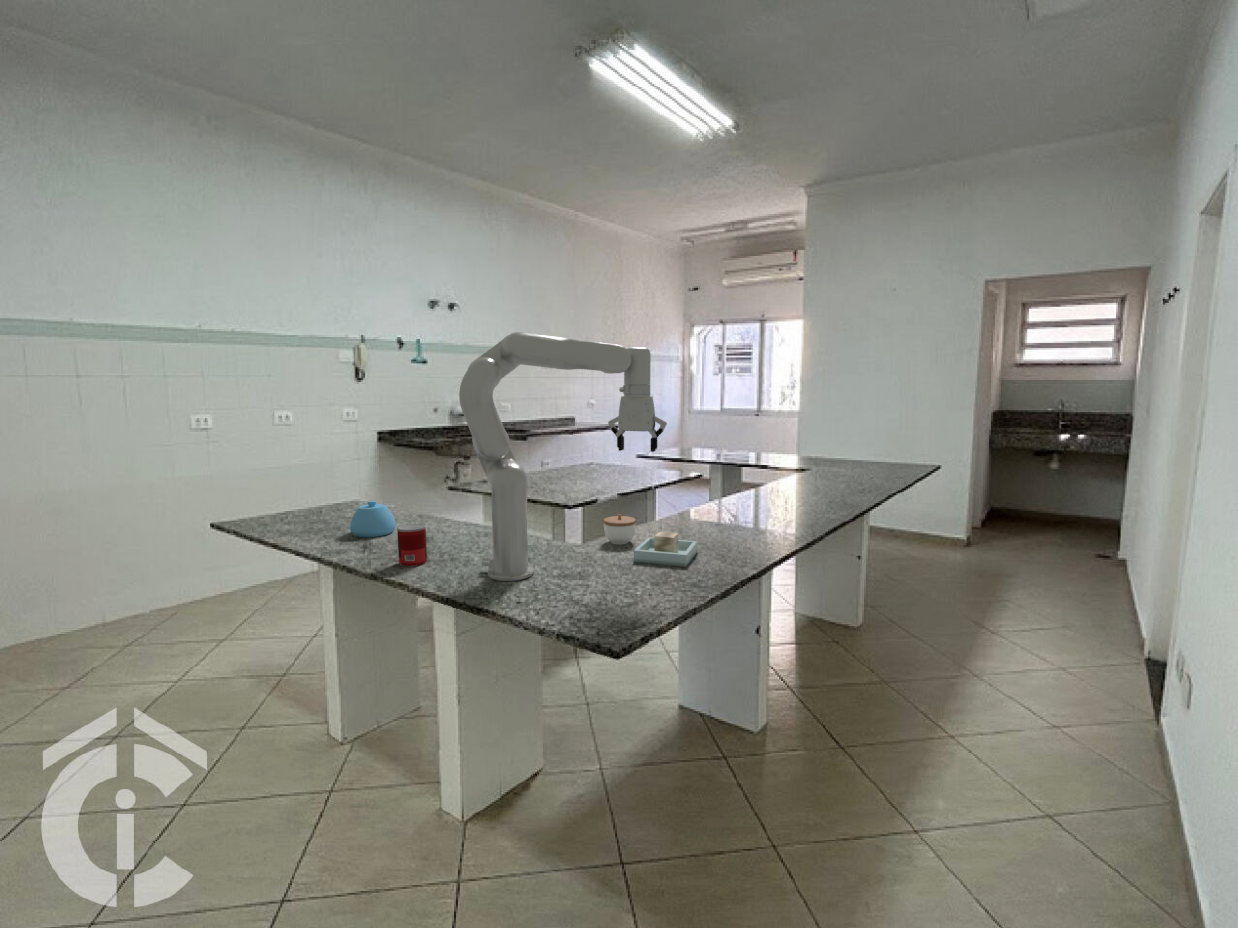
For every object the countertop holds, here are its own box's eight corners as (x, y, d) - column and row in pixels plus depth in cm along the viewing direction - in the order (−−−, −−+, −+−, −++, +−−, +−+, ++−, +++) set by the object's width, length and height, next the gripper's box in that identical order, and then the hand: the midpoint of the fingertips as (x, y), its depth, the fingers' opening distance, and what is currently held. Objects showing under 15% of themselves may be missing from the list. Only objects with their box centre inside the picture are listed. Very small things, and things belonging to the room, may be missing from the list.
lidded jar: (618, 548, 199) (618, 519, 197) (597, 541, 207) (596, 514, 205) (642, 542, 206) (642, 514, 204) (621, 536, 214) (621, 509, 212)
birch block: (654, 555, 187) (654, 536, 186) (659, 550, 193) (659, 531, 192) (673, 557, 185) (673, 537, 184) (678, 551, 191) (678, 532, 190)
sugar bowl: (341, 537, 213) (339, 504, 212) (366, 527, 228) (364, 496, 226) (381, 539, 211) (379, 505, 209) (403, 528, 225) (402, 497, 224)
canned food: (432, 562, 184) (430, 526, 182) (407, 568, 178) (405, 531, 177) (419, 557, 189) (417, 522, 188) (394, 563, 183) (392, 526, 182)
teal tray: (633, 561, 184) (633, 550, 183) (648, 547, 199) (648, 537, 198) (686, 566, 179) (686, 555, 178) (697, 552, 194) (697, 541, 194)
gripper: (604, 391, 176) (604, 451, 178) (663, 391, 170) (662, 453, 173) (612, 391, 183) (613, 448, 185) (669, 391, 178) (669, 450, 180)
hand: (637, 450), depth 179 cm, fingers open, 9 cm apart
